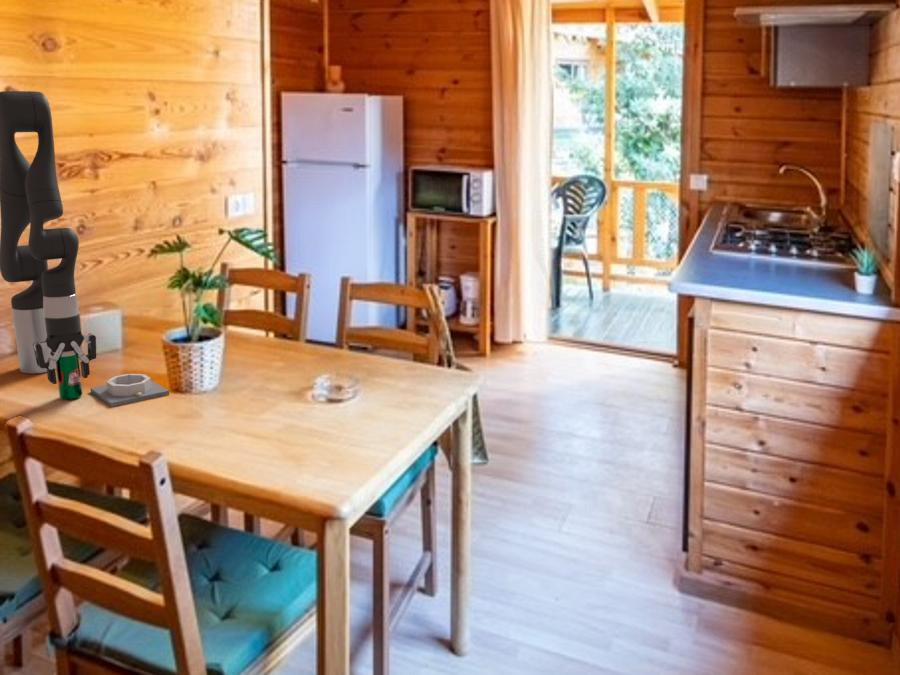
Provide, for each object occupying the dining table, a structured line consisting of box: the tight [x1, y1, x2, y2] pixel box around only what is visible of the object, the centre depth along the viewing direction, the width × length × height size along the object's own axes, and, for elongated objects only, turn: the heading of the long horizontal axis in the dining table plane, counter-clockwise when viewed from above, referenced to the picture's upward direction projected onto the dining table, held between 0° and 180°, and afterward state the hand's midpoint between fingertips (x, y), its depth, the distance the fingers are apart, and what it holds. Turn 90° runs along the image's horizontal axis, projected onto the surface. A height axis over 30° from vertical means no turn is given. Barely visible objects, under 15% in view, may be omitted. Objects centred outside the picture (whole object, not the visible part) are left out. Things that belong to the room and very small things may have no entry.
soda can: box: [55, 350, 83, 401], centre depth 206 cm, size 5×5×12 cm
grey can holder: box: [90, 373, 170, 408], centre depth 210 cm, size 14×14×4 cm
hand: (69, 380), depth 206 cm, fingers open, 6 cm apart
